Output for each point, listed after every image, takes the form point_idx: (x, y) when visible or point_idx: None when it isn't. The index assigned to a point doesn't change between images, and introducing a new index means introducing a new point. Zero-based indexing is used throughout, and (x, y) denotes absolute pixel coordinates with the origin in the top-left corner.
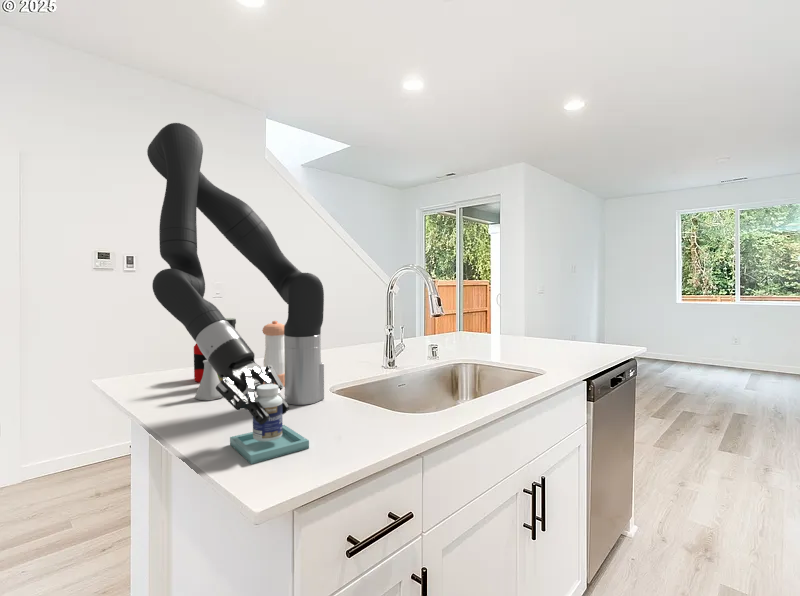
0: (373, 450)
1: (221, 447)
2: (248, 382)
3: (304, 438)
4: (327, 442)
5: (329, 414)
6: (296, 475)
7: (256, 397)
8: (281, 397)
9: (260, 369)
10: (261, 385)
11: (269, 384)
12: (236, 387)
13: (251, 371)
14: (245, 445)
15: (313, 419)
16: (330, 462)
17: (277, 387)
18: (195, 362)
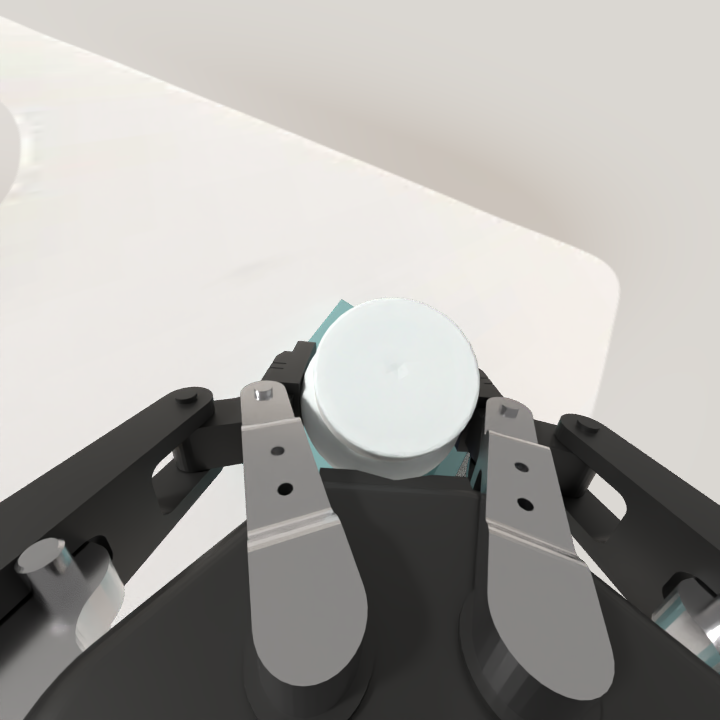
0: (310, 180)
1: None
2: (543, 491)
3: (332, 316)
4: (289, 285)
5: (18, 384)
6: (483, 271)
7: (406, 464)
8: (288, 366)
9: (128, 652)
10: (391, 434)
11: (339, 389)
12: (683, 521)
13: (364, 670)
14: (443, 461)
15: (83, 415)
16: (399, 235)
17: (381, 299)
18: None
